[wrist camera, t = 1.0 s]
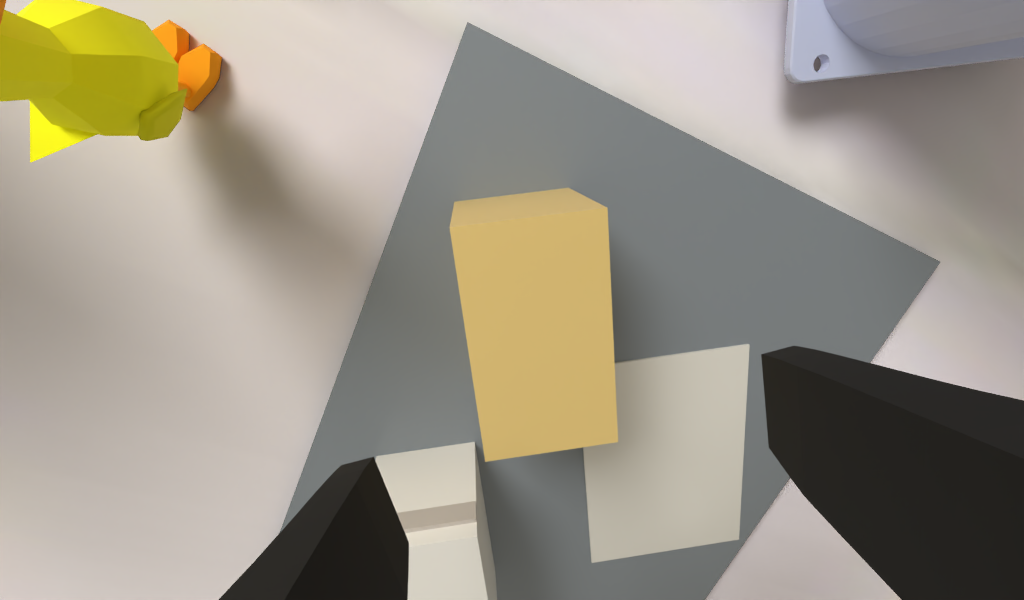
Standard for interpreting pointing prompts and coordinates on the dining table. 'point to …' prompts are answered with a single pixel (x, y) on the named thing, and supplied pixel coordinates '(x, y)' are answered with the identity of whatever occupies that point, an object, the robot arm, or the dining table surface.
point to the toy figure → (98, 73)
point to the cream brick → (442, 522)
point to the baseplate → (636, 331)
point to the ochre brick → (537, 320)
